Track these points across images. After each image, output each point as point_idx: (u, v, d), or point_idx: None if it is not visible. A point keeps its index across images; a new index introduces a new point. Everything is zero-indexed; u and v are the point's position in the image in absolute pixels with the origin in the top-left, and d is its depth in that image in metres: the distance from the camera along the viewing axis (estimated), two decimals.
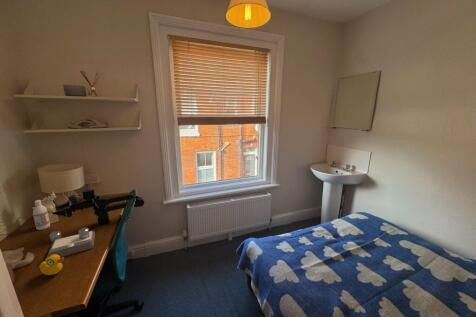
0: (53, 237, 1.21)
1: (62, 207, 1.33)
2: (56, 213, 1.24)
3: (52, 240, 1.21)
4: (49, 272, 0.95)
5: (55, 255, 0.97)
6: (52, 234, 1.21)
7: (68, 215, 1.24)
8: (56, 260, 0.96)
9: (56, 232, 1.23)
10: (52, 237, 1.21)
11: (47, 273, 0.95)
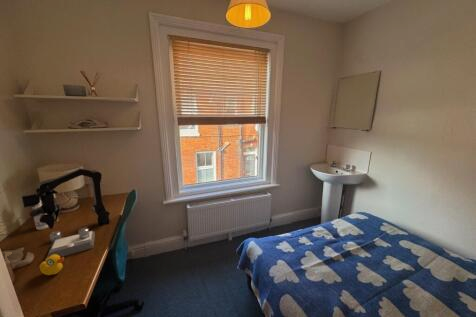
0: (53, 237, 1.21)
1: (55, 216, 1.25)
2: (51, 226, 1.17)
3: (52, 240, 1.21)
4: (49, 272, 0.95)
5: (55, 255, 0.97)
6: (52, 234, 1.21)
7: (50, 219, 1.13)
8: (56, 260, 0.96)
9: (56, 232, 1.23)
10: (52, 237, 1.21)
11: (47, 273, 0.95)
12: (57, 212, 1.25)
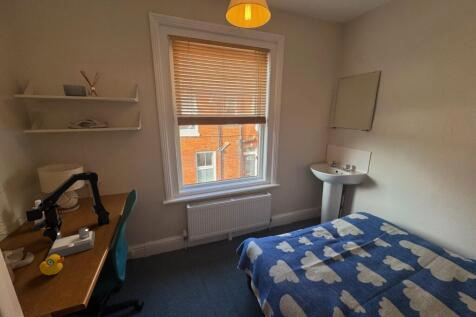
0: None
1: (58, 229, 1.27)
2: (53, 239, 1.19)
3: None
4: (49, 272, 0.95)
5: (55, 255, 0.97)
6: None
7: (53, 233, 1.15)
8: (56, 260, 0.96)
9: None
10: None
11: (47, 273, 0.95)
12: (59, 225, 1.27)
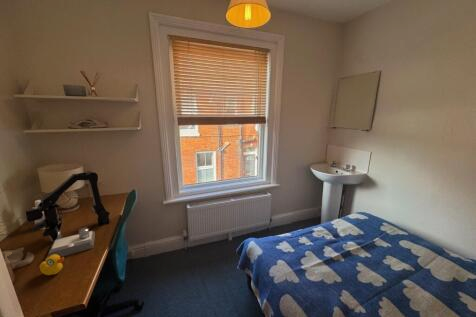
0: None
1: None
2: (54, 238, 1.20)
3: (52, 239, 1.21)
4: (49, 272, 0.95)
5: (55, 255, 0.97)
6: None
7: (53, 233, 1.15)
8: (56, 260, 0.96)
9: None
10: None
11: (47, 273, 0.95)
12: (59, 226, 1.26)
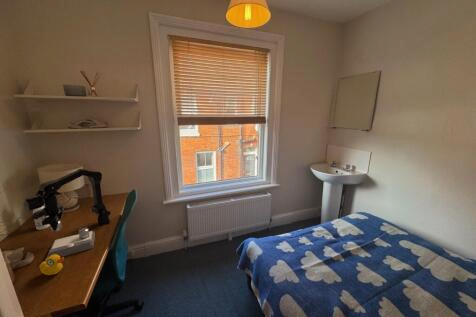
0: None
1: None
2: (54, 227, 1.15)
3: (52, 229, 1.15)
4: (49, 272, 0.95)
5: (55, 255, 0.97)
6: None
7: (53, 221, 1.09)
8: (56, 260, 0.96)
9: None
10: None
11: (47, 273, 0.95)
12: (59, 216, 1.20)
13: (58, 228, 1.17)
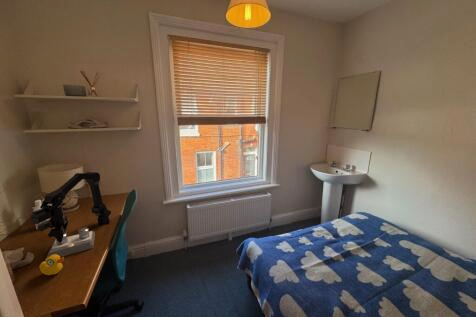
0: None
1: (63, 230, 1.19)
2: (60, 239, 1.12)
3: (58, 242, 1.14)
4: (49, 272, 0.95)
5: (55, 255, 0.97)
6: None
7: (59, 233, 1.07)
8: (56, 260, 0.96)
9: None
10: None
11: (47, 273, 0.95)
12: (65, 225, 1.19)
13: (64, 241, 1.15)
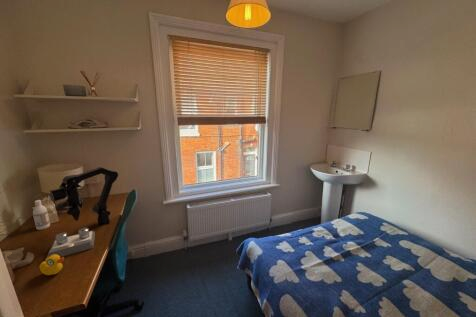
0: (59, 238, 1.14)
1: None
2: (76, 218, 1.24)
3: (58, 242, 1.14)
4: (49, 272, 0.95)
5: (55, 255, 0.97)
6: (59, 236, 1.14)
7: (76, 211, 1.20)
8: (56, 260, 0.96)
9: (62, 233, 1.17)
10: (58, 239, 1.14)
11: (47, 273, 0.95)
12: (80, 205, 1.32)
13: (64, 241, 1.16)
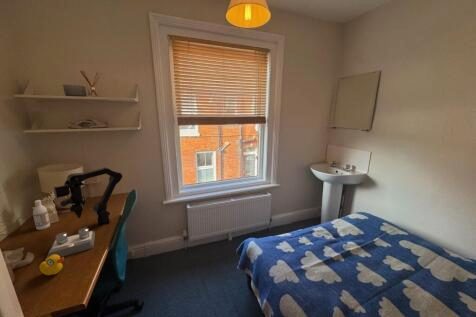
0: (60, 238, 1.14)
1: None
2: (79, 215, 1.26)
3: (59, 242, 1.14)
4: (49, 272, 0.95)
5: (55, 255, 0.97)
6: (59, 236, 1.14)
7: (79, 208, 1.23)
8: (56, 260, 0.96)
9: (62, 233, 1.17)
10: (59, 238, 1.14)
11: (47, 273, 0.95)
12: (83, 203, 1.35)
13: (65, 241, 1.16)
